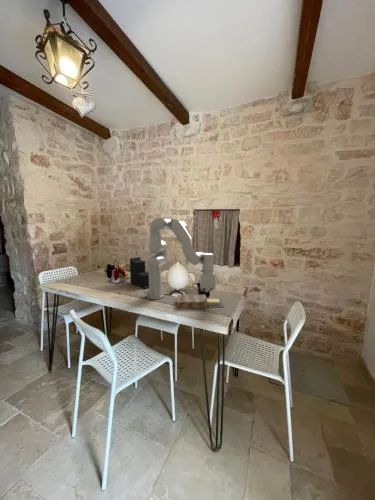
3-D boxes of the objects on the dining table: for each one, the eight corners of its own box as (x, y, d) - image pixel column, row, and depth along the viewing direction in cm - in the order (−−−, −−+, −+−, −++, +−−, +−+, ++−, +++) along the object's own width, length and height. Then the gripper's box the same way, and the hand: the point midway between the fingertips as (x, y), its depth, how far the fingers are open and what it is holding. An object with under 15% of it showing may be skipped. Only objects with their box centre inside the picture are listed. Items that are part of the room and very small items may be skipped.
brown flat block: (177, 307, 145) (177, 302, 144) (177, 300, 158) (177, 294, 158) (207, 307, 145) (207, 301, 144) (205, 299, 159) (205, 294, 158)
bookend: (155, 286, 190) (154, 260, 187) (144, 289, 183) (144, 261, 179) (140, 281, 206) (139, 256, 203) (130, 283, 199) (129, 258, 196)
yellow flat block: (206, 304, 149) (206, 302, 149) (205, 301, 155) (205, 298, 155) (219, 304, 149) (219, 302, 149) (218, 301, 155) (218, 298, 155)
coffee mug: (209, 293, 172) (210, 281, 171) (204, 296, 165) (204, 284, 164) (197, 291, 178) (197, 279, 177) (191, 294, 171) (191, 281, 170)
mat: (207, 307, 145) (207, 307, 145) (205, 299, 159) (205, 299, 159) (224, 307, 145) (224, 307, 145) (220, 299, 159) (220, 299, 159)
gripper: (197, 272, 145) (197, 299, 147) (219, 272, 145) (219, 299, 148) (196, 270, 152) (196, 295, 155) (217, 270, 152) (217, 295, 155)
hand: (207, 297), depth 151 cm, fingers closed
